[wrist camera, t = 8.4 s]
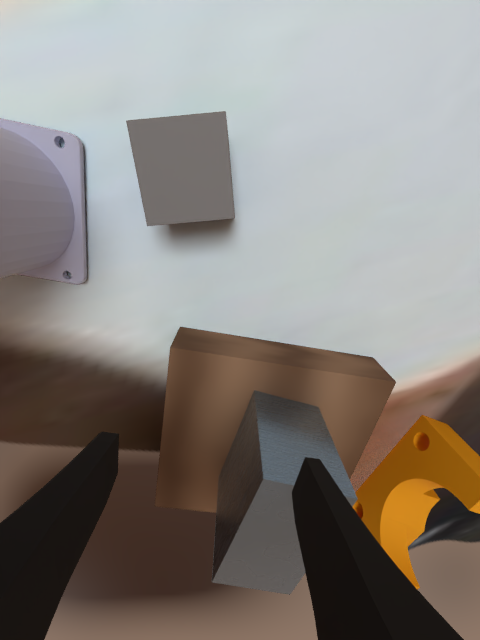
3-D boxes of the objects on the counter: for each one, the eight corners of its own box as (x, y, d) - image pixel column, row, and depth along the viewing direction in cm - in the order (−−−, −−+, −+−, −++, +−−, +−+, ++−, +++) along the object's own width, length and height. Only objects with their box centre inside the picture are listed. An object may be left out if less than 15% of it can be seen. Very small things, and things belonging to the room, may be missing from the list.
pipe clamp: (380, 516, 26) (422, 605, 20) (342, 505, 26) (375, 593, 20) (462, 429, 22) (545, 508, 16) (420, 413, 22) (491, 490, 16)
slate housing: (214, 487, 20) (205, 594, 14) (254, 390, 17) (263, 478, 11) (269, 499, 21) (282, 605, 15) (318, 406, 17) (357, 499, 12)
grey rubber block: (167, 222, 16) (147, 225, 12) (154, 144, 14) (126, 120, 11) (234, 216, 16) (234, 218, 12) (228, 137, 14) (225, 111, 11)
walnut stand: (164, 471, 23) (154, 506, 21) (180, 326, 18) (170, 347, 16) (317, 489, 25) (328, 524, 22) (373, 357, 19) (396, 382, 17)
